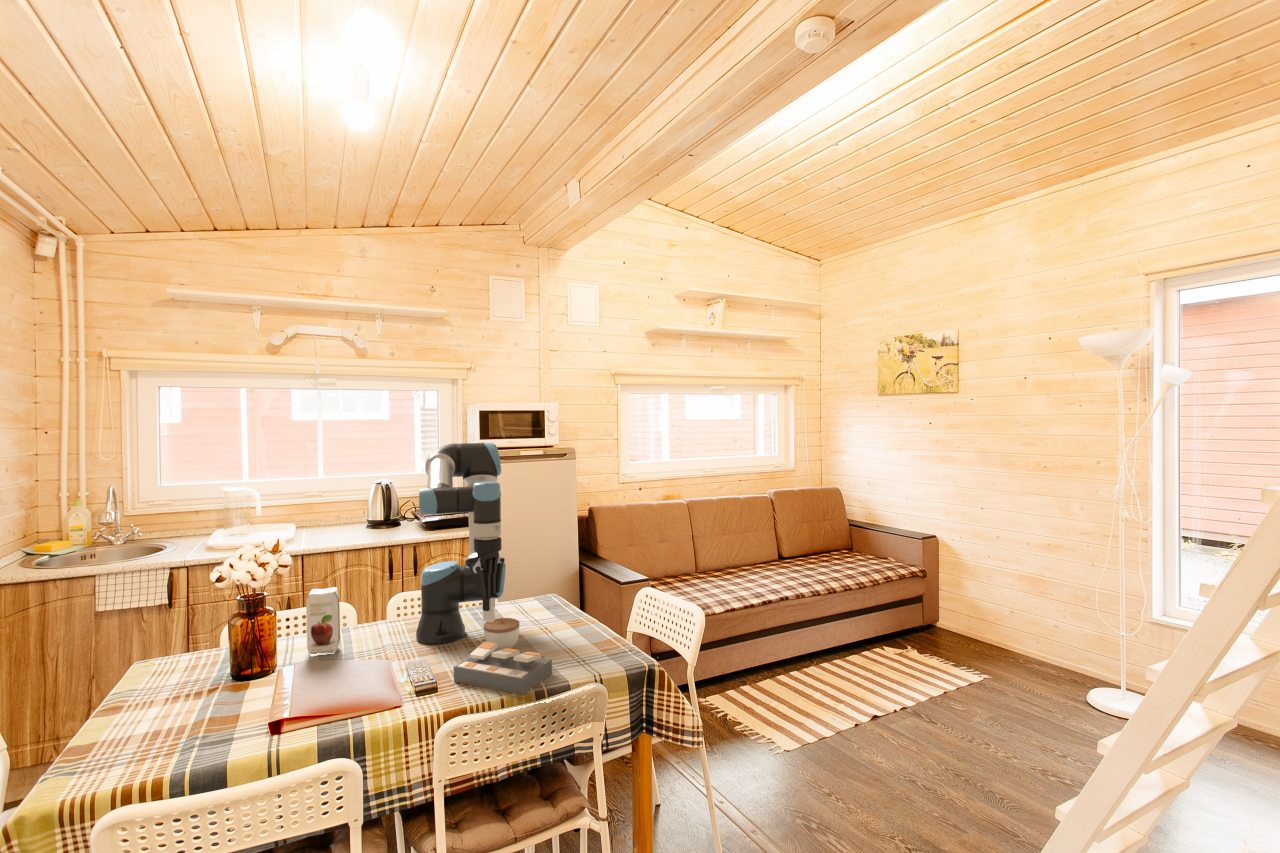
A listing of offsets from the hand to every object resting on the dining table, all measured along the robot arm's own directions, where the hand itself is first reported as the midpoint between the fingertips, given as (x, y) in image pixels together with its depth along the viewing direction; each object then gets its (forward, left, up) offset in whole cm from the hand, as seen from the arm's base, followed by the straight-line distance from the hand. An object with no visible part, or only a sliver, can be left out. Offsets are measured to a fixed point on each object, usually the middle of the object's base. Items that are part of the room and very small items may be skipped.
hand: (489, 621), depth 176 cm
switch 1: (0, -2, -8) cm, 8 cm away
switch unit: (+7, -3, -14) cm, 16 cm away
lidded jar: (-6, +15, -14) cm, 21 cm away
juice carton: (-55, -7, -14) cm, 57 cm away
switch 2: (+7, -2, -8) cm, 11 cm away
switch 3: (+14, -2, -8) cm, 16 cm away
